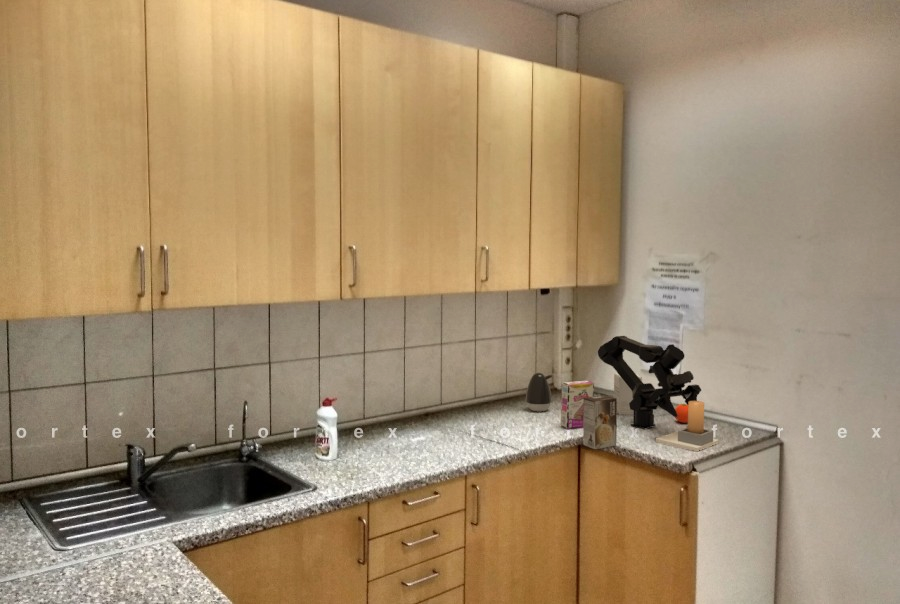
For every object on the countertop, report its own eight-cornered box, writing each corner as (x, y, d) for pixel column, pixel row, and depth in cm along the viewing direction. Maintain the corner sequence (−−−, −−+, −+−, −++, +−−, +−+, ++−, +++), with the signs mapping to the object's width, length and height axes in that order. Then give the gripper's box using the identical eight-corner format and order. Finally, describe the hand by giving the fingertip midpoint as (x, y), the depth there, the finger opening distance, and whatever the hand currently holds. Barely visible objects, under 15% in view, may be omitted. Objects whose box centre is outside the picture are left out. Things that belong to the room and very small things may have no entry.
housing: (655, 442, 241) (656, 428, 240) (677, 434, 250) (677, 421, 250) (697, 451, 230) (697, 437, 229) (718, 443, 239) (718, 429, 239)
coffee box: (604, 441, 242) (605, 394, 241) (616, 446, 236) (617, 398, 235) (582, 444, 238) (583, 397, 237) (594, 449, 232) (595, 401, 231)
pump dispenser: (553, 413, 281) (553, 375, 280) (526, 413, 281) (527, 375, 280) (550, 407, 291) (550, 370, 290) (524, 407, 292) (524, 370, 290)
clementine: (670, 419, 271) (671, 400, 271) (689, 419, 271) (690, 401, 270) (676, 424, 263) (677, 405, 263) (695, 425, 263) (696, 406, 263)
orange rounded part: (686, 442, 237) (687, 403, 235) (688, 438, 241) (689, 400, 240) (702, 443, 235) (703, 404, 233) (703, 440, 239) (705, 401, 238)
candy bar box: (567, 429, 257) (568, 384, 255) (560, 426, 261) (560, 382, 260) (594, 426, 261) (594, 382, 260) (586, 423, 266) (586, 379, 264)
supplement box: (635, 409, 287) (636, 372, 286) (641, 415, 278) (642, 377, 277) (613, 409, 287) (613, 372, 286) (618, 415, 278) (619, 377, 277)
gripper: (656, 365, 240) (678, 405, 231) (698, 361, 248) (721, 399, 239) (639, 384, 248) (660, 423, 239) (681, 379, 256) (703, 417, 247)
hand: (687, 415), depth 241 cm, fingers open, 9 cm apart
